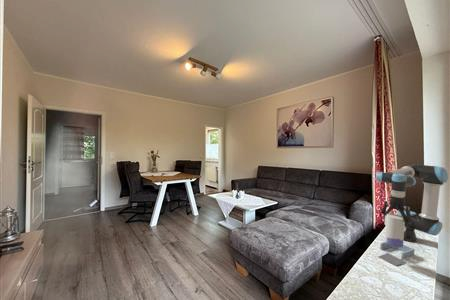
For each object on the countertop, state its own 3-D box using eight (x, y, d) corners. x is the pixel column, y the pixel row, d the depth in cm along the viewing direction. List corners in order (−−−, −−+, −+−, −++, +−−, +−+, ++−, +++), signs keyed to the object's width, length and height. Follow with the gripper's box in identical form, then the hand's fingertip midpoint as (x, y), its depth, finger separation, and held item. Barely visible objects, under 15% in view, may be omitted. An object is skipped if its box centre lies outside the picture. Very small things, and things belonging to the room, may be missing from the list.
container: (396, 240, 143) (399, 213, 142) (406, 248, 134) (409, 219, 132) (381, 239, 145) (383, 212, 144) (389, 246, 136) (392, 218, 134)
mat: (387, 253, 147) (387, 253, 147) (405, 262, 137) (405, 261, 137) (378, 257, 143) (378, 256, 143) (396, 266, 133) (396, 265, 133)
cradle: (391, 245, 159) (391, 239, 159) (414, 255, 146) (414, 249, 145) (380, 249, 153) (380, 243, 153) (402, 260, 140) (403, 253, 140)
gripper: (376, 192, 146) (373, 221, 147) (415, 202, 125) (412, 236, 127) (382, 191, 149) (380, 220, 150) (421, 200, 128) (418, 234, 130)
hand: (394, 227), depth 139 cm, fingers closed on container, 10 cm apart
